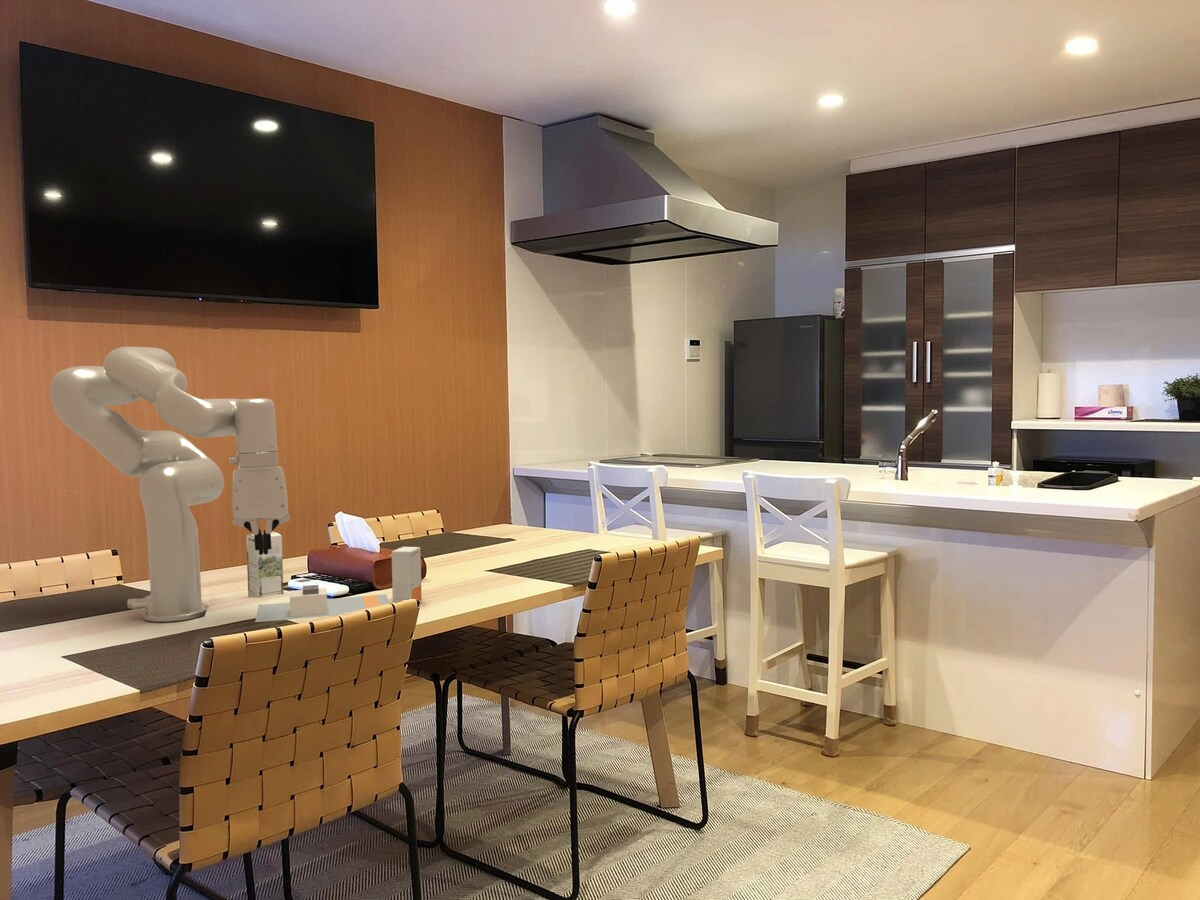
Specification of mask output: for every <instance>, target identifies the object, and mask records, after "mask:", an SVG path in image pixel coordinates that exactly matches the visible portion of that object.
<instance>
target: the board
mask: <svg viewBox="0 0 1200 900" xmlns="http://www.w3.org/2000/svg"><path fill="white" fill-rule="evenodd" d="M386 603H390V602H389V598H388V596H387V594H384V593H383V594H374V595H362V596H349V597H339V598H327V614H321V615H310V616H299V617H291V615H290V601H289V602H280V603H279V602H276V603H268V604H267V603H265V604H258V606H257V607H258V608H257V611H256V617H255V621H254V623H263V622H264V623H266V622H274V621H275V622H276V621H285V620H298V619H307V618H317V617H318V618H319V617H320V618H321V617H331V616H340V615H339V614H343V613H347V612H352V611H356V610H359V609H364V608H369V607H375V606H379V605H382V604H386ZM343 615H344V614H343Z"/></svg>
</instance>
